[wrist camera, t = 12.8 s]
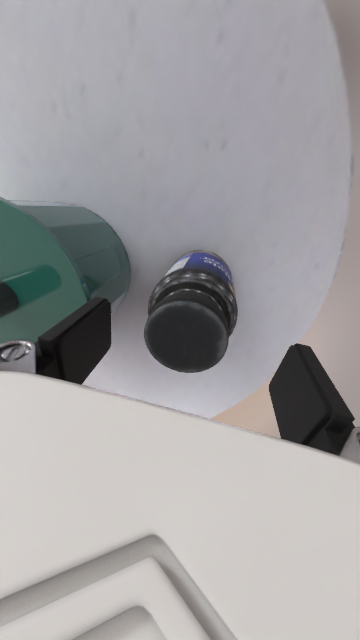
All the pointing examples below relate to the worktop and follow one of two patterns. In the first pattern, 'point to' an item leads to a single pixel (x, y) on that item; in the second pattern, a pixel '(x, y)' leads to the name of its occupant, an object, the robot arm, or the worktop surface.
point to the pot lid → (34, 277)
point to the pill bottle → (192, 313)
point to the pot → (87, 246)
